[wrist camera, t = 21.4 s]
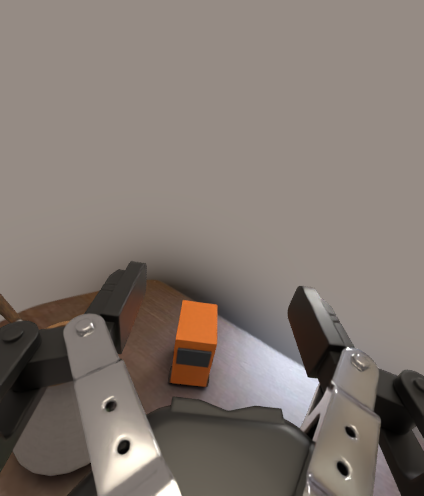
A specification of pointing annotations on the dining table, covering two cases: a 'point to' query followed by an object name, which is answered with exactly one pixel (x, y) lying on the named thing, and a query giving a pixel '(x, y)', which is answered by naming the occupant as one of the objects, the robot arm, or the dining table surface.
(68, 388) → the coffee pot
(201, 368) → the toy van
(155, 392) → the dining table surface
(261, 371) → the dining table surface
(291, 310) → the robot arm
